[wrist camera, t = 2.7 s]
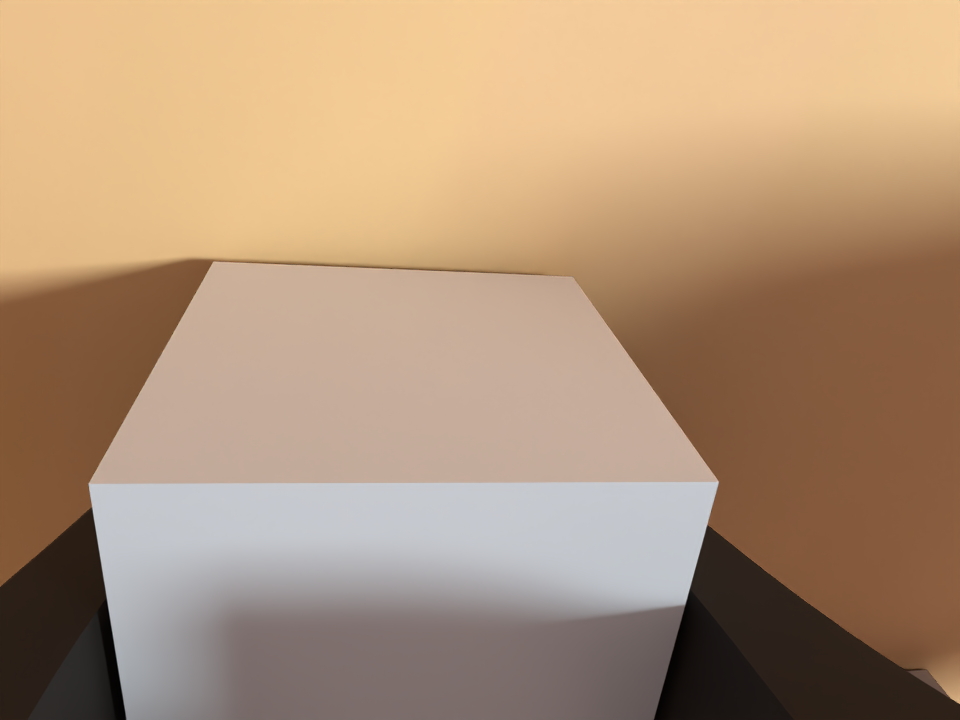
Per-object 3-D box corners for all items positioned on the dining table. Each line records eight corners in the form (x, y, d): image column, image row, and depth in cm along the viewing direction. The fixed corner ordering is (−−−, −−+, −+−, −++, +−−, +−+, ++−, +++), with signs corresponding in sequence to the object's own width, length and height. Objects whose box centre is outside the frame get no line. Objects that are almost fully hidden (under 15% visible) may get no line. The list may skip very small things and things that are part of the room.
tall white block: (573, 276, 10) (718, 481, 6) (523, 602, 12) (601, 911, 8) (214, 261, 9) (87, 484, 5) (235, 611, 11) (164, 953, 7)
